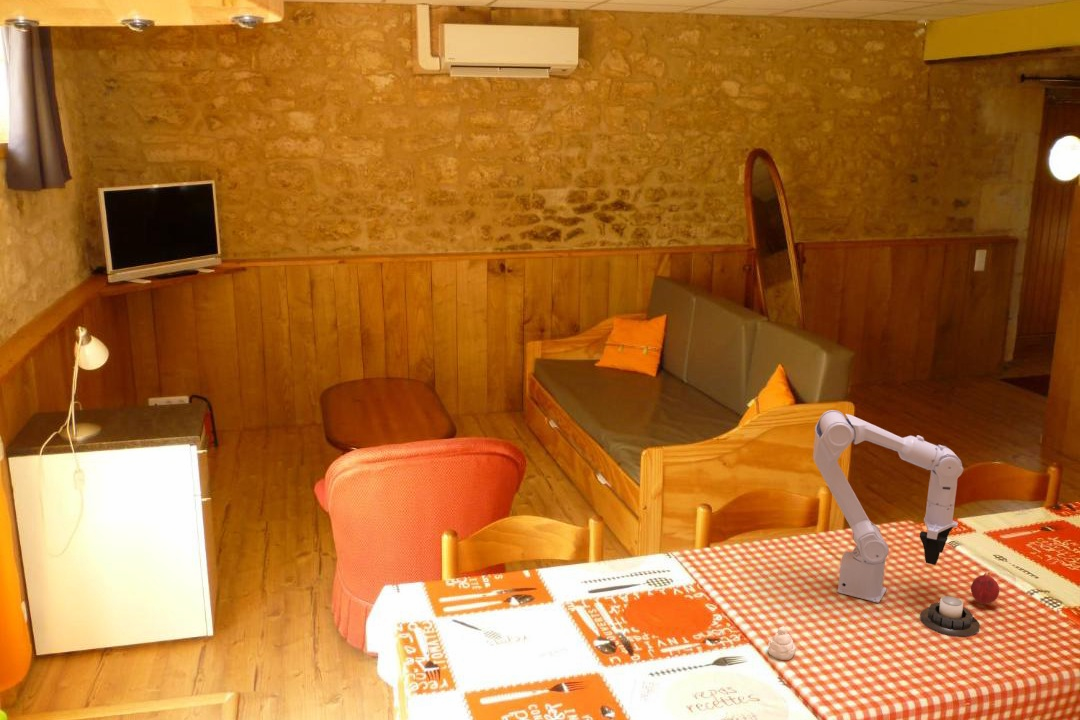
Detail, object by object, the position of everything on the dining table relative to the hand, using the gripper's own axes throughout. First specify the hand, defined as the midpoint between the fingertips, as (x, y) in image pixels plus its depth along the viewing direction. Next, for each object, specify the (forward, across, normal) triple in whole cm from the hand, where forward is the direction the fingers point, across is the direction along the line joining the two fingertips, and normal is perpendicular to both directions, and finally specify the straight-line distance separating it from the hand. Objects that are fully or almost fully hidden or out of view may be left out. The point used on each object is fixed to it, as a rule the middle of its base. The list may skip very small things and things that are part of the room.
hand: (934, 557), depth 218 cm
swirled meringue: (+10, -43, +21) cm, 49 cm away
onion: (+10, +3, -11) cm, 15 cm away
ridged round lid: (+10, -10, -6) cm, 15 cm away
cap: (+9, -10, -6) cm, 15 cm away
